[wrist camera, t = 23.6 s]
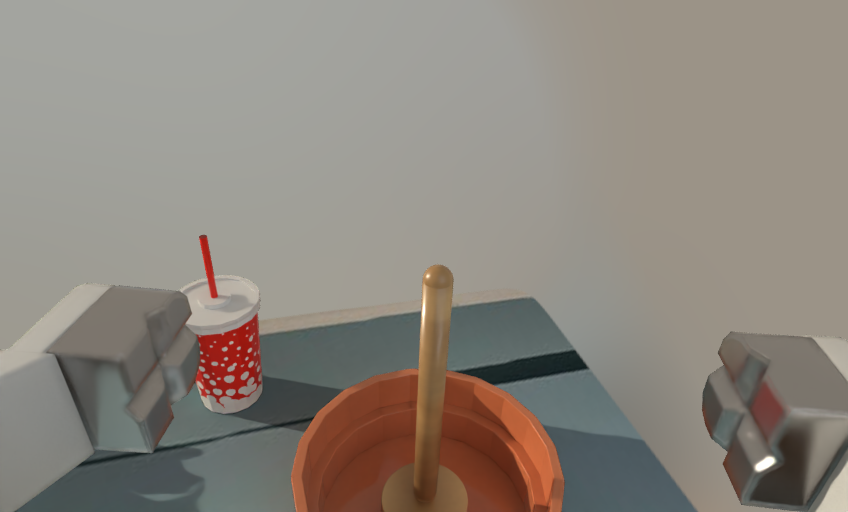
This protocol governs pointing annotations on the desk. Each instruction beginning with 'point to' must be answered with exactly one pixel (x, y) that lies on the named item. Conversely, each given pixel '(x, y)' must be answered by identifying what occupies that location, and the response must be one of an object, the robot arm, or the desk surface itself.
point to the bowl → (395, 447)
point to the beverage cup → (225, 338)
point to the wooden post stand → (429, 412)
